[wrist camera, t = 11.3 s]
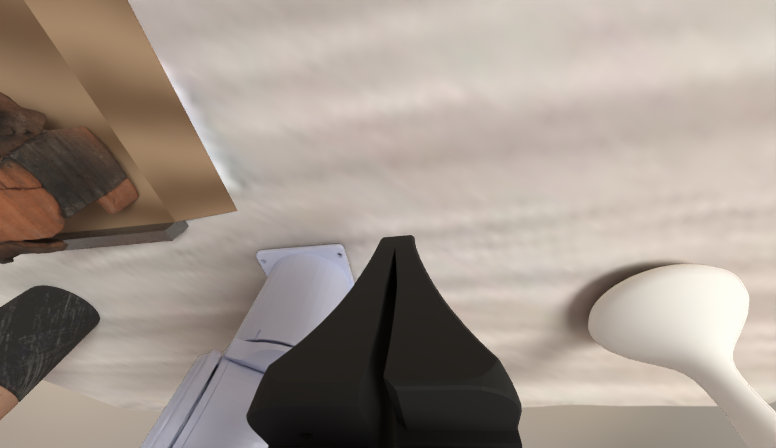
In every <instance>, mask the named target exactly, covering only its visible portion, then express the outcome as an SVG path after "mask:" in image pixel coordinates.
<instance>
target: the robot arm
mask: <svg viewBox="0 0 776 448" xmlns="http://www.w3.org/2000/svg"><path fill="white" fill-rule="evenodd" d="M338 253H340V254H342V255H339V254H338ZM256 258H257V259H258V261H259V263H260V265H261V267H262V269H263V271H264V272H265V274H266V276H267V280H266V282H265V284H264V285H263V287H262V289H261V291H260V292H259V294H258V296H257V298H256V299H255V301H254V303H253V305H252V306H251V308H250V310H249V312H248V313H247V315H246V317H245V319H244V320H243V322H242V324H241V326H240V328H239V329H238V331H237V333H236V335H235V336H234V338H233V340H232V342H231V343H230V344H229V346H228V347H227V349H226V350H225V352H224V353H223V354H222V356H221V353H222V352H220V351H218V350H215V349H213V350H211V351H210V352H209V353H205V354H203V355H200V356H199V357H198V358H197V360H196V361H195V363H194V364H193V366H192V367H191V369H190V370H189V372H188V373H187V375H186V376H185V378H184V379H183V381H182V382H181V384H180V386H179V387H178V389H177V390H176V392H175V393H174V395H173V396H172V398H171V400H170V401H169V403H168V404H167V406H166V407H165V409H164V410H163V412H162V414H161V415H160V417H159V419H158V420H157V422H156V423H155V425H154V426H153V428H152V429H151V431H150V433H149V434H148V436H147V437H146V439H145V440H144V442H143V444H142V445H141V447H140V448H522V443H521V439H520V436H519V432H518V424H519V420H520V416H521V412H522V410H521V403H520V400H519V397H518V395H517V392H516V390H515V388H514V386H513V383H512V381H511V380H510V378H509V376H508V374H507V372H506V370H505V369H504V367H503V365H502V364H501V362H500V360H499V359H498V358H497V357H496V356H495V355H494V354H493V353H492V352H491V351H490V350H488V349H487V348H486V347H485V346H484V345H483V344H482V343H481V342H480V341H479V340H478V339H477V338H476V337H475V336H474V335H473V334H472V333H471V331H470V330H469V329H468V328H467V327H466V326H465V325H464V324H463V323H462V321H461V320H460V319H459V318H458V317H457V316H456V314H455V313H454V312H453V311H452V310H451V308H450V307H449V306H448V304H447V303H446V302H445V300H444V299H443V297H442V296H441V295H440V293H439V292H438V290H437V289H436V287H435V285H434V284H433V282H432V280H431V279H430V277H429V275H428V273H427V272H426V270H425V268H424V266H423V263H422V261H421V259H420V257H419V254H418V252H417V249H416V245H415V239H414V237H413V236H412V235H407V236H396V237H384V238H382V239H381V241H380V243H379V245H378V247H377V249H376V251H375V253H374V254H373V256H372V258H371V260H370V261H369V263H368V265H367V266H366V268H365V269H364V271H363V273H362V274H361V276H360V277H359V278H358V280H357V281H356V283H355V282H354V279H353V276H352V272H351V269H350V266H349V262H348V259H347V256H346V252H345V249H344V247H343V246H342V245H340V244H330V245H318V246H306V247H294V248H281V249H269V250H260V251H258V252H257V254H256ZM263 259H264V260H263ZM220 356H221V357H220Z"/></svg>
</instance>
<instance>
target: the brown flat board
mask: <svg viewBox="0 0 776 448" xmlns="http://www.w3.org/2000/svg"><path fill="white" fill-rule="evenodd" d="M0 92H2V93H4V94H5V95H7V96H8V97H10V98H11V99H12V100H13V101H14V102H16V103H17V104H18V105H19V106H21V107H23V108H27V109H31V110H36V111H39V112H41V113H44V114H45V115H46V117H47V123H46V125H45V127H44V130H56V129H71V128H76V127H86V128H87V129H88V130H89V131H90V132H91V133H93V134H94V135H95V136H96V137H97V138H98V139H99V141H100V142H102V143H103V144H104V146H105V147H106V148H107V149H108V150H109V151H110V153H111V154H112V155H113V157H114V158H115V159H116V160H117V161H118V162H119V165H120V167H121V169H122V170H123V171H124V172H125V174H126V175H127V177H128V178H129V180H130V181H131V183H132V184H133V185H134V187H135V189H136V190H137V192H138V195H139V197H138V198H137V199H136V200H134V201H133V202H131V203H130V204H129V205H128V206H126V207H125V208H124V209H123V210H121V211H120V212H118V213H116V214H109V213H107V212H106V210H105V209H104V208H103V207H102V206H101V205H100V204H99V203H97V202H95V201H93V202H91V203H90V204H89V205H88V206H86V207H84V208H83V209H81V210H80V211H79V212H77V213H76V214H74V215H73V216H71V217H70V218H64V221H65V223H64V228H63V229H62V230H61V232H59V233H69V232H79V231H89V230H99V229H109V228H119V227H129V226H139V225H149V224H159V223H169V222H177V221H183V220H189V219H194V218H200V217H205V216H211V215H217V214H222V213H228V212H233V211H237V209H236V207H235V205H234V203H233V201H232V199H231V197H230V196H229V194H228V192H227V190H226V188H225V186H224V184H223V182H222V180H221V178H220V176H219V175H218V173H217V171H216V169H215V167H214V165H213V163H212V161H211V159H210V157H209V155H208V153H207V152H206V150H205V148H204V146H203V144H202V142H201V140H200V138H199V136H198V134H197V132H196V131H195V129H194V127H193V125H192V123H191V121H190V119H189V117H188V115H187V113H186V111H185V110H184V108H183V106H182V104H181V102H180V100H179V98H178V96H177V94H176V92H175V90H174V88H173V87H172V85H171V83H170V81H169V79H168V77H167V75H166V73H165V71H164V69H163V67H162V66H161V64H160V62H159V60H158V58H157V56H156V54H155V52H154V50H153V48H152V46H151V45H150V43H149V41H148V39H147V37H146V35H145V33H144V31H143V29H142V27H141V25H140V23H139V22H138V20H137V18H136V16H135V14H134V12H133V10H132V8H131V6H130V4H129V2H128V1H127V0H0ZM1 160H3V158H2V157H1V158H0V162H1ZM59 233H57V234H59Z"/></svg>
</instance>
